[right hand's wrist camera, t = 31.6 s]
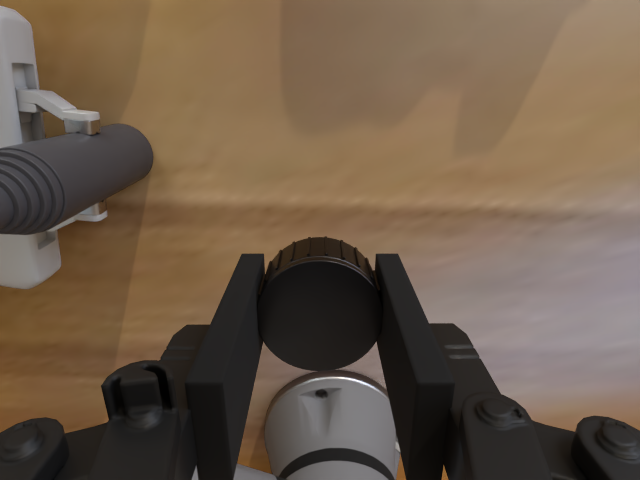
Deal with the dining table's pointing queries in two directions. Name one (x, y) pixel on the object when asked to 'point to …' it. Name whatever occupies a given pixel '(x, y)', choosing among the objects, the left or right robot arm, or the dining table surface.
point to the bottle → (67, 175)
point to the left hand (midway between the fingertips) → (100, 167)
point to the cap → (319, 305)
